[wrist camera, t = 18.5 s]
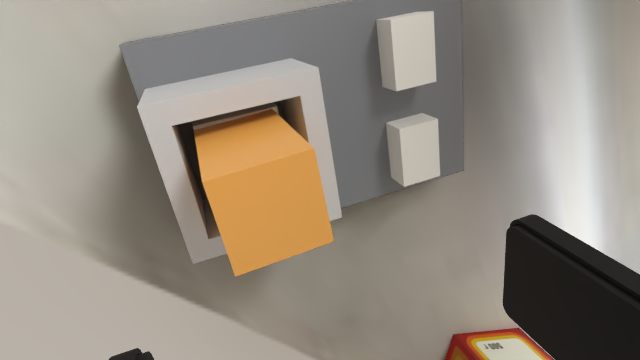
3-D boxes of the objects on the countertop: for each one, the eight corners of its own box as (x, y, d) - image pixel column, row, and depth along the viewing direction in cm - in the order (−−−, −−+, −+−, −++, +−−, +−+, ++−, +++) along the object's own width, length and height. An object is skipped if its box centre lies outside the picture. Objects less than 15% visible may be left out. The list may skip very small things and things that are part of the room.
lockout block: (271, 108, 23) (314, 148, 16) (289, 178, 25) (333, 241, 18) (193, 130, 22) (202, 182, 15) (217, 201, 24) (235, 276, 17)
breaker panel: (436, -15, 30) (523, -27, 22) (442, 159, 36) (513, 196, 28) (124, 42, 25) (103, 52, 17) (190, 234, 31) (195, 303, 23)
